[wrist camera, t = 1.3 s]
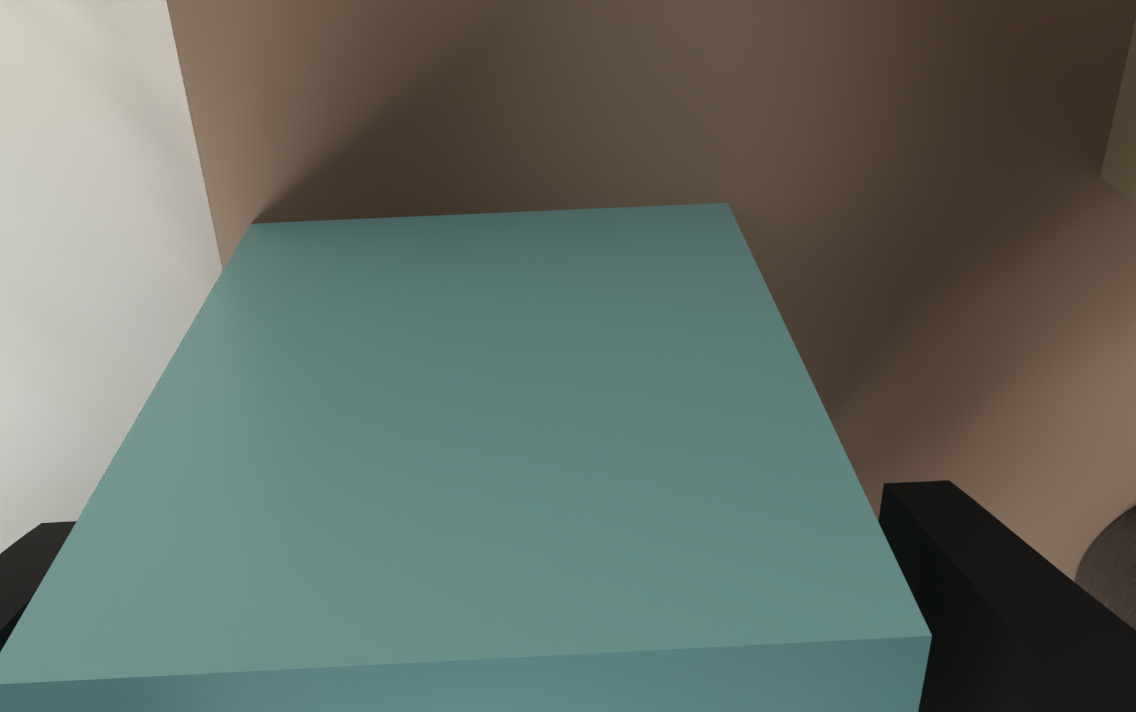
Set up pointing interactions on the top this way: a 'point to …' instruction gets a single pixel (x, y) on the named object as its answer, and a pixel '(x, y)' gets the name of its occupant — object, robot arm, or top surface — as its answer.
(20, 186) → the top surface
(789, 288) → the board
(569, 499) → the teal foam cube
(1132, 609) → the metal post
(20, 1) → the top surface
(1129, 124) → the maple post
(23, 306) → the top surface
